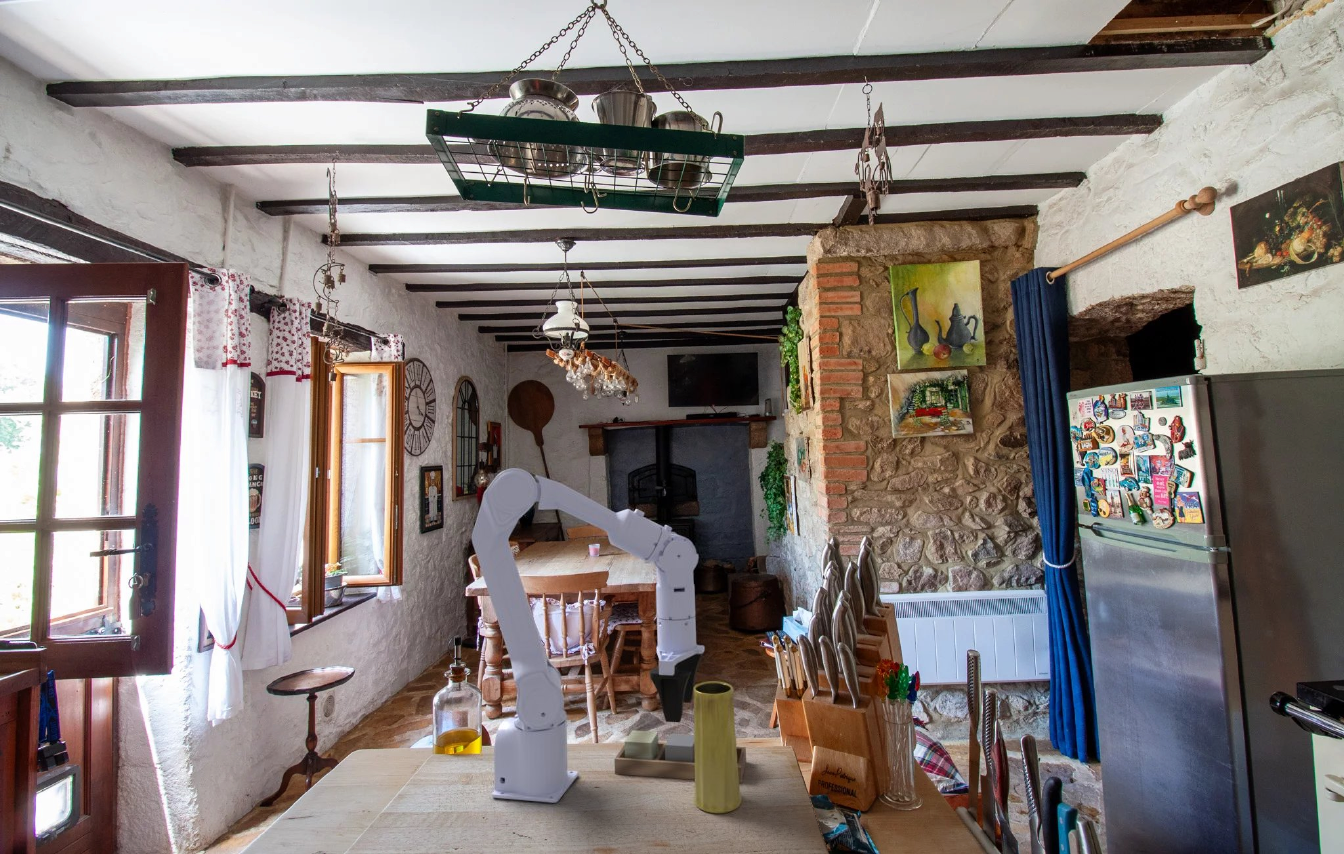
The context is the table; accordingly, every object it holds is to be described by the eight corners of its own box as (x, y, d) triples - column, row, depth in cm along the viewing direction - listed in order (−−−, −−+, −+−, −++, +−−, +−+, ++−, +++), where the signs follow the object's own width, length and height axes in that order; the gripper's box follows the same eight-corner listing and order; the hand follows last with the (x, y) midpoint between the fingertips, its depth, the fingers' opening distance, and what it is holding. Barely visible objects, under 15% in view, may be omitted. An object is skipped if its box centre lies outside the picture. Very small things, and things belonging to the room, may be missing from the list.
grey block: (665, 773, 87) (664, 744, 87) (672, 761, 90) (671, 733, 91) (693, 775, 86) (692, 746, 86) (698, 763, 90) (697, 734, 90)
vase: (739, 815, 75) (734, 696, 76) (690, 812, 76) (686, 694, 77) (743, 791, 81) (738, 680, 82) (698, 788, 82) (694, 679, 83)
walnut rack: (614, 773, 87) (614, 744, 87) (627, 753, 93) (627, 726, 94) (741, 782, 83) (740, 752, 83) (746, 761, 89) (745, 733, 90)
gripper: (693, 628, 82) (696, 732, 81) (710, 606, 96) (713, 694, 95) (643, 627, 84) (645, 729, 83) (667, 605, 98) (669, 692, 97)
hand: (679, 710), depth 89 cm, fingers open, 7 cm apart
